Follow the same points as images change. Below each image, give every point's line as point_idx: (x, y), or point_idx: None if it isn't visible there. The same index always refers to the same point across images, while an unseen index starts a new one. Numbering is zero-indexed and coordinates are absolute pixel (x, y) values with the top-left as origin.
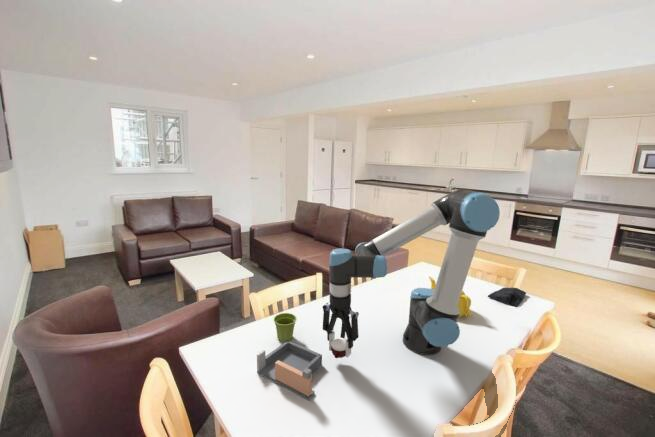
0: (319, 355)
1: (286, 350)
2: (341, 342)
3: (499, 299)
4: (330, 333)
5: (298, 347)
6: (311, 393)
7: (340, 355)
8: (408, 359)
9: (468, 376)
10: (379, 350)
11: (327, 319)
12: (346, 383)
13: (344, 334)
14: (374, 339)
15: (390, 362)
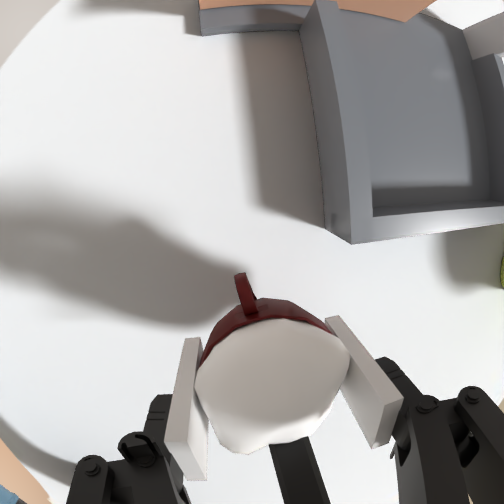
0: (362, 227)
1: (491, 187)
2: (241, 406)
3: None
4: (396, 413)
5: (480, 207)
6: (200, 8)
7: (224, 318)
8: (92, 449)
9: (4, 433)
10: None
11: (494, 490)
12: (121, 205)
13: (280, 473)
14: (238, 476)
15: (107, 423)
